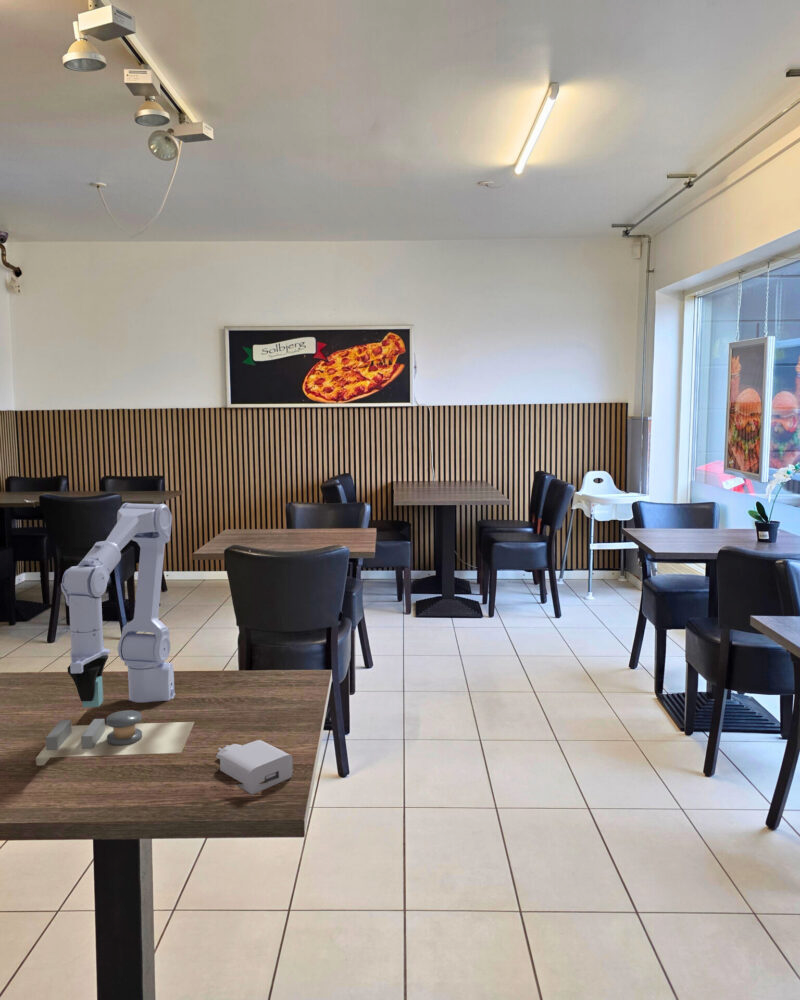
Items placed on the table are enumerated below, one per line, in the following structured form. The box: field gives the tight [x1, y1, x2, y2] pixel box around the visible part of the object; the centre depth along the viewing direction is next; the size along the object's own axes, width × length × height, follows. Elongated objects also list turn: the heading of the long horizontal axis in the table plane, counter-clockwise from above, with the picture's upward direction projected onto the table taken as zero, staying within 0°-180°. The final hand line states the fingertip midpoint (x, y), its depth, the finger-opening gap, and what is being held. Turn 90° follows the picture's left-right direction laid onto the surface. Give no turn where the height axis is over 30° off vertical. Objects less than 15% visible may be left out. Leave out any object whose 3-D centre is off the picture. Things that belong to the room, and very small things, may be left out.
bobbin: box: [105, 709, 142, 746], centre depth 150 cm, size 6×6×4 cm
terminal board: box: [35, 721, 195, 766], centre depth 150 cm, size 26×14×2 cm, turn 95°
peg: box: [81, 675, 104, 708], centre depth 150 cm, size 3×3×5 cm
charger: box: [215, 739, 294, 795], centre depth 140 cm, size 5×9×15 cm
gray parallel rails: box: [45, 718, 106, 750], centre depth 150 cm, size 8×8×2 cm
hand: (89, 697), depth 150 cm, fingers closed on peg, 3 cm apart
